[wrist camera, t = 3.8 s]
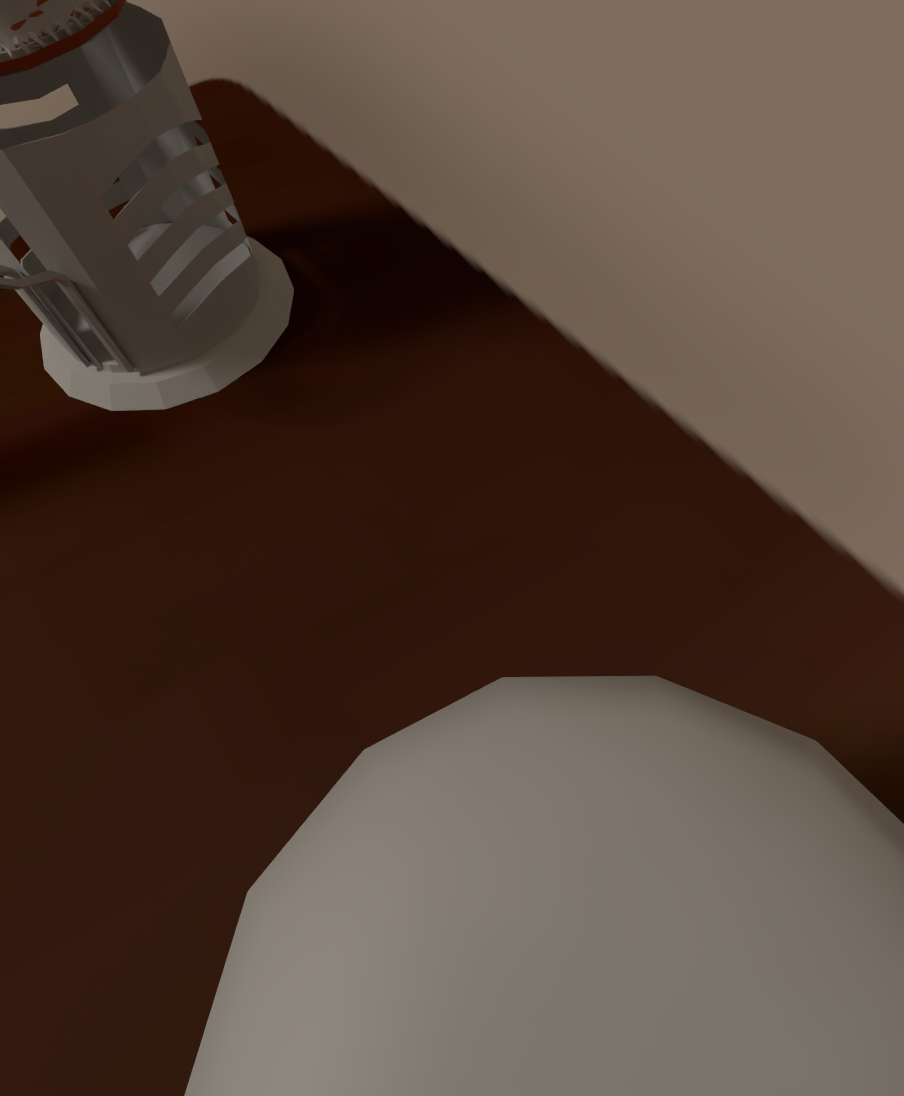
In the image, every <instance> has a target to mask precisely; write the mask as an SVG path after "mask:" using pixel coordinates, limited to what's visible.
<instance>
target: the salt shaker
mask: <svg viewBox="0 0 904 1096" xmlns="http://www.w3.org/2000/svg"><path fill="white" fill-rule="evenodd" d="M185 1096H904V824H903V823H902V822H901V821H900V820H899V819H898V818H897V817H896V816H895V815H894V814H893V813H892V812H890V811H889V810H888V809H887V808H886V807H885V806H884V805H883V804H882V803H881V802H880V801H879V800H878V799H877V798H876V797H875V796H874V795H873V794H872V793H870V792H869V791H868V790H867V789H866V788H865V787H864V786H863V785H862V784H861V783H860V782H859V781H858V780H857V779H856V778H855V777H854V776H853V775H852V774H850V773H849V772H848V771H847V770H846V769H845V768H844V767H843V766H842V765H841V764H840V763H839V762H838V761H837V760H836V759H835V758H834V757H833V756H832V755H830V754H829V753H828V752H827V751H826V750H825V749H824V748H823V747H822V746H821V745H820V744H819V743H818V742H817V741H815V740H813V739H810V738H808V737H806V736H803V735H801V734H798V733H796V732H793V731H791V730H788V729H786V728H783V727H781V726H778V725H776V724H773V723H771V722H768V721H766V720H764V719H761V718H759V717H756V716H754V715H751V714H749V713H746V712H744V711H741V710H739V709H736V708H734V707H731V706H729V705H726V704H724V703H722V702H719V701H717V700H714V699H712V698H709V697H707V696H704V695H702V694H699V693H697V692H694V691H692V690H689V689H687V688H684V687H682V686H680V685H677V684H675V683H672V682H670V681H667V680H665V679H662V678H660V677H657V676H596V677H502V678H500V679H498V680H496V681H495V682H493V683H491V684H489V685H487V686H485V687H483V688H481V689H479V690H477V691H475V692H474V693H472V694H470V695H468V696H466V697H464V698H462V699H460V700H458V701H456V702H454V703H453V704H451V705H449V706H447V707H445V708H443V709H441V710H439V711H437V712H435V713H433V714H432V715H430V716H428V717H426V718H424V719H422V720H420V721H418V722H416V723H414V724H412V725H411V726H409V727H407V728H405V729H403V730H401V731H399V732H397V733H395V734H393V735H391V736H390V737H388V738H386V739H384V740H382V741H380V742H378V743H376V744H374V745H372V746H370V747H369V748H367V749H365V750H363V752H362V753H361V754H360V755H359V757H358V758H357V759H356V760H355V761H354V763H353V764H352V765H351V766H350V767H349V769H348V770H347V771H346V772H345V774H344V775H343V776H342V777H341V778H340V780H339V781H338V782H337V783H336V785H335V786H334V787H333V788H332V789H331V791H330V792H329V793H328V794H327V796H326V797H325V798H324V799H323V800H322V802H321V803H320V804H319V805H318V806H317V808H316V809H315V810H314V811H313V813H312V814H311V815H310V816H309V817H308V819H307V820H306V821H305V822H304V824H303V825H302V826H301V827H300V828H299V830H298V831H297V832H296V833H295V834H294V836H293V837H292V838H291V839H290V841H289V842H288V843H287V844H286V845H285V847H284V848H283V849H282V850H281V852H280V853H279V854H278V855H277V856H276V858H275V859H274V860H273V861H272V863H271V864H270V865H269V866H268V867H267V869H266V870H265V871H264V872H263V873H262V875H261V876H260V877H259V878H258V880H257V881H256V882H255V883H254V884H253V886H252V887H251V888H250V889H249V891H248V892H247V896H246V899H245V902H244V905H243V909H242V912H241V915H240V918H239V922H238V925H237V928H236V931H235V934H234V938H233V941H232V944H231V947H230V951H229V954H228V957H227V960H226V964H225V967H224V970H223V973H222V976H221V980H220V983H219V986H218V989H217V993H216V996H215V999H214V1002H213V1006H212V1009H211V1012H210V1015H209V1018H208V1022H207V1025H206V1028H205V1031H204V1035H203V1038H202V1041H201V1044H200V1048H199V1051H198V1054H197V1057H196V1060H195V1064H194V1067H193V1070H192V1073H191V1077H190V1080H189V1083H188V1086H187V1090H186V1093H185Z"/></svg>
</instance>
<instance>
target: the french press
mask: <svg viewBox="0 0 904 1096" xmlns="http://www.w3.org/2000/svg"><path fill="white" fill-rule="evenodd" d="M67 83H68V85H69V87H70V89H71V91H72V92H73V94H74V96H75V98H76V100H77V102H78V104H79V105H77V106H76V107H74V108H72V109H71V110H69V111H67V112H65V113H64V114H62V115H60V116H59V117H57V118H55V119H53V120H51V121H45V122H40V123H34V124H28V125H22V126H17V127H11V128H2V129H0V209H1V210H2V211H3V212H4V214H5V215H6V216H5V217H4V218H3V219H2V220H1V221H0V275H3V276H4V277H5V278H1V277H0V288H6V289H15V290H16V292H17V293H18V294H19V295H20V296H21V298H22V299H23V300H24V301H25V302H26V304H27V305H28V306H29V307H30V308H31V310H32V311H33V312H34V313H35V314H36V316H37V317H38V318H39V319H40V320H41V322H42V323H43V326H42V330H41V333H40V338H41V346H42V354H43V362H44V369H45V370H46V371H47V372H48V373H49V374H50V376H51V377H52V378H53V379H54V380H55V381H56V382H57V383H58V384H59V385H60V387H61V388H62V389H63V390H64V391H65V392H66V393H67V394H68V395H69V396H70V397H73V398H76V399H79V400H82V401H85V402H88V403H91V404H94V405H96V406H99V407H102V408H105V409H108V410H111V411H124V410H157V409H168V408H171V407H174V406H177V405H180V404H183V403H186V402H189V401H192V400H195V399H198V398H201V397H204V396H207V395H210V394H213V393H216V392H218V391H220V390H221V389H223V388H224V387H226V386H227V385H229V384H230V383H232V382H233V381H234V380H236V379H237V378H239V377H240V376H242V375H243V374H244V373H246V372H247V371H249V370H250V369H252V368H253V367H255V366H256V365H257V364H259V363H260V362H262V361H263V359H264V358H265V356H266V355H267V354H268V352H269V351H270V349H271V348H272V347H273V345H274V344H275V343H276V341H277V340H278V338H279V337H280V336H281V334H282V333H283V331H284V330H285V329H286V327H287V326H288V322H289V317H290V311H291V305H292V299H293V294H294V288H293V286H292V283H291V281H290V278H289V276H288V274H287V271H286V269H285V266H284V264H283V262H282V260H281V259H280V258H279V257H277V256H276V255H275V254H273V253H272V252H271V251H269V250H268V249H267V248H265V247H264V246H263V245H261V244H260V243H259V242H257V241H256V240H255V239H253V238H250V237H247V236H246V234H245V231H244V228H243V226H242V223H241V220H240V218H239V215H238V213H237V210H236V208H235V206H234V205H233V203H234V201H233V199H232V197H231V194H230V192H229V189H228V187H227V185H226V182H225V180H224V178H223V175H222V173H221V171H220V170H219V169H218V168H217V167H216V166H217V165H219V163H218V160H217V158H216V155H215V153H214V151H213V148H212V146H211V143H210V141H209V139H208V137H207V134H206V132H205V131H204V130H203V129H202V128H201V127H200V126H199V125H198V124H197V123H196V122H194V121H195V120H200V119H201V116H200V114H199V111H198V109H197V106H196V104H195V101H194V99H193V97H192V94H191V92H190V89H189V87H188V84H187V82H186V79H185V77H184V74H183V72H182V70H181V67H180V65H179V62H178V60H177V57H176V55H175V52H174V50H173V47H172V45H171V42H170V40H169V37H168V34H167V32H166V29H165V27H164V25H163V22H162V19H161V18H159V17H157V16H155V15H153V14H152V13H149V12H148V11H146V10H144V9H142V8H141V7H139V6H136V5H133V4H131V3H128V2H126V0H0V105H2V104H8V103H14V102H21V101H27V100H33V99H39V98H41V97H43V96H45V95H47V94H48V93H50V92H52V91H54V90H56V89H58V88H60V87H61V86H63V85H65V84H67ZM193 135H194V136H195V137H196V138H197V139H198V140H199V141H201V142H202V143H203V144H204V145H201V146H197V143H196V141H195V138H194V136H193ZM209 174H210V175H212V176H213V177H214V178H215V179H216V180H217V181H218V182H219V183H220V184H221V185H222V186H221V187H219V188H217V189H215V187H214V185H213V182H212V180H211V177H210V175H209ZM118 177H119V179H120V181H119V182H117V183H115V184H113V182H114V181H115V180H116V179H117V178H118ZM112 184H113V185H112ZM130 199H131V200H130ZM128 200H130V201H129V203H128V204H127V205H126V206H125V207H124V208H123V209H122V211H121V212H120V213H119V214H118V215H117V216H116V218H115V219H114V220H113V219H112V217H111V215H110V214H109V212H108V210H110V209H112V208H114V207H116V206H118V205H120V204H122V203H124V202H126V201H128ZM224 210H226V211H227V212H229V213H230V214H231V215H232V216H233V217H234V218H235V219H236V220H237V221H238V222H237V223H235V224H234V225H232V224H231V223H230V222H229V221H228V219H227V217H226V214H225V212H224ZM19 235H21V236H22V238H23V239H24V240H25V242H26V243H27V244H28V246H29V247H30V248H31V250H30V251H29V252H28V253H27V254H26V255H25V256H24V257H23V258H22V259H21V264H20V263H19V262H18V260H17V259H16V258H15V257H14V255H13V254H12V253H11V250H10V244H11V243H12V242H13V241H14V240H15V239H16V238H17V237H18V236H19Z"/></svg>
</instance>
